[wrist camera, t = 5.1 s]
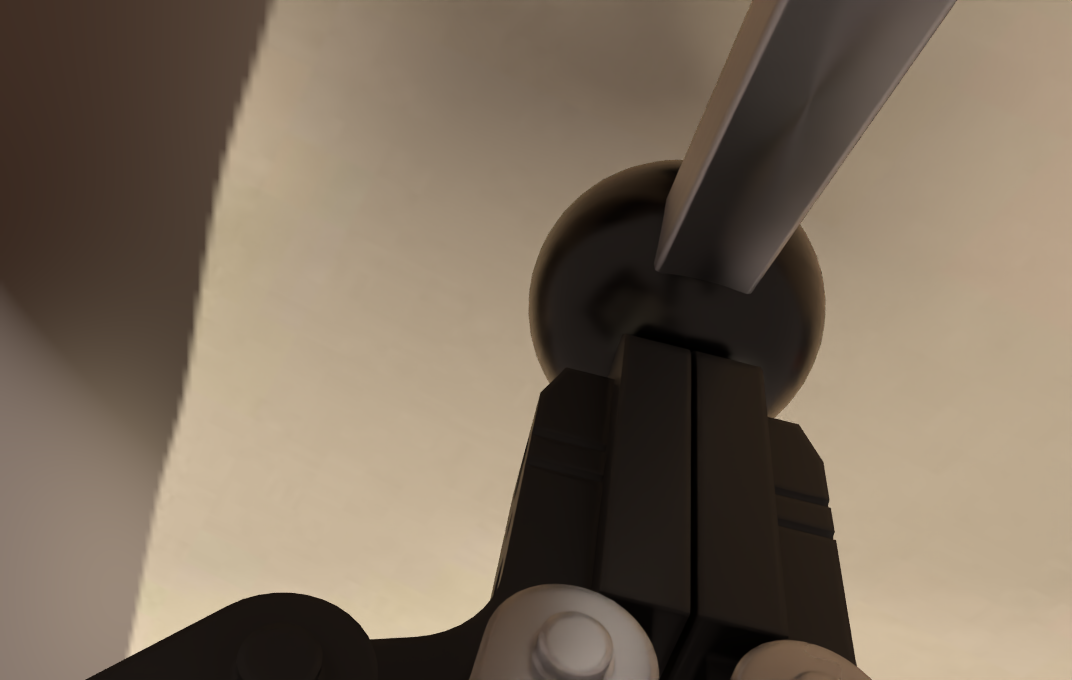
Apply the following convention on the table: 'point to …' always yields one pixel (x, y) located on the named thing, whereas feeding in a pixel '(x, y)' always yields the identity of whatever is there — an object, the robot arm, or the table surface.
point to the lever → (730, 202)
